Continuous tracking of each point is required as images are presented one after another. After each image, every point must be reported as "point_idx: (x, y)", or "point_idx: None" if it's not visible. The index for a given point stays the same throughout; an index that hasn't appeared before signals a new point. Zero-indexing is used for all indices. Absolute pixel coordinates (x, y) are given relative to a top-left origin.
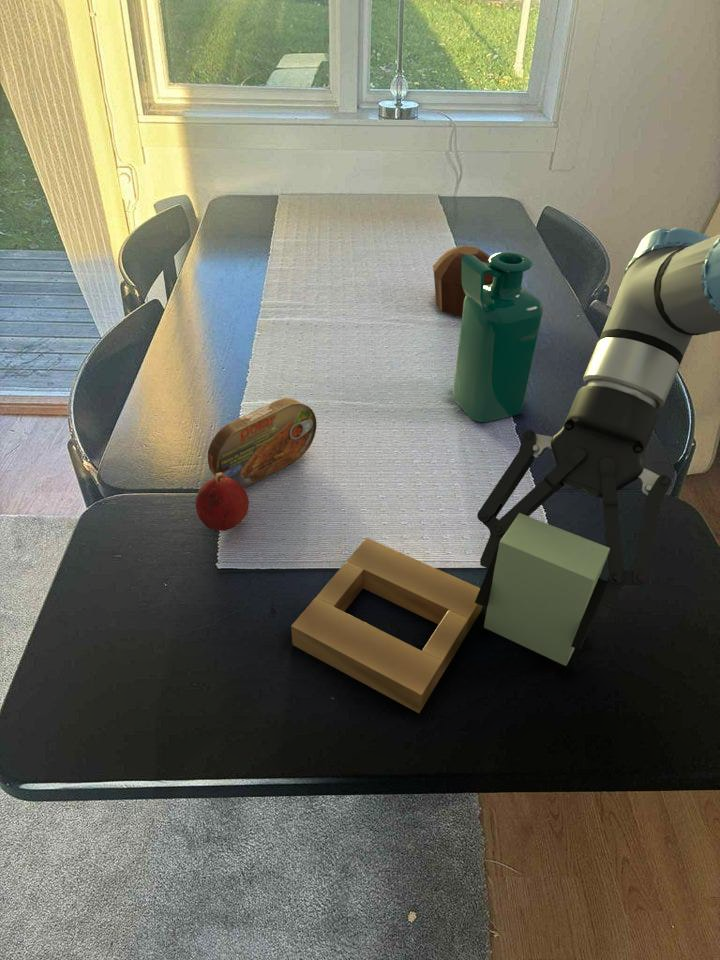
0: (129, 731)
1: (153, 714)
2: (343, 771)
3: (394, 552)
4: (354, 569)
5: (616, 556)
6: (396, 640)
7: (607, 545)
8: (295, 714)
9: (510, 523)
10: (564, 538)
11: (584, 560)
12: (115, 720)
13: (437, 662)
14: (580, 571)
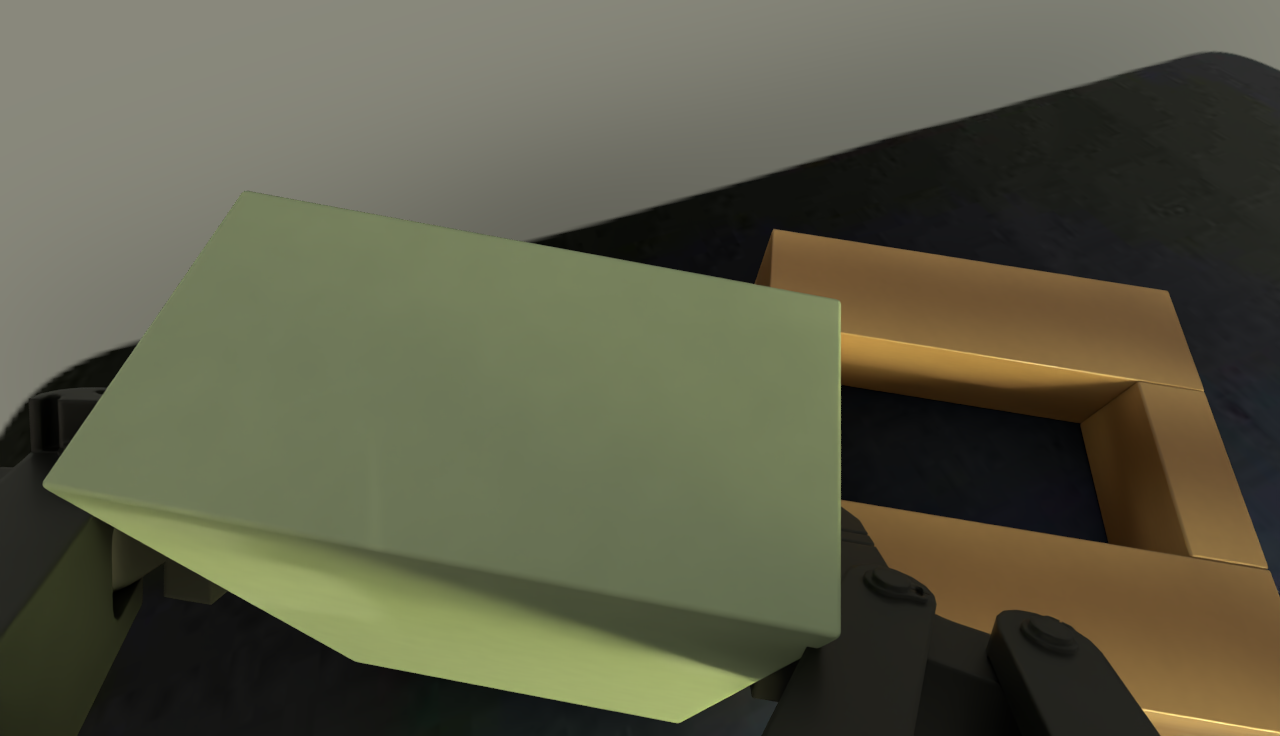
0: (1174, 122)
1: (1175, 150)
2: (826, 158)
3: (1176, 698)
4: (1215, 542)
5: (16, 508)
6: (912, 337)
7: (56, 549)
8: (973, 213)
9: (845, 619)
10: (426, 463)
11: (285, 304)
12: (1211, 129)
13: None
14: (322, 227)
